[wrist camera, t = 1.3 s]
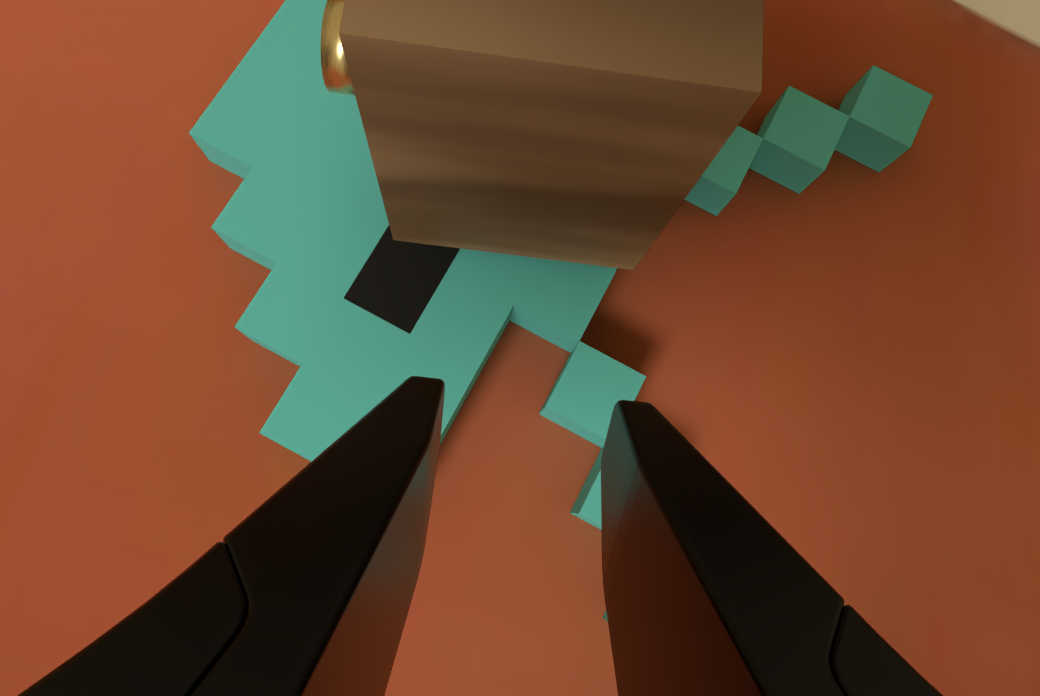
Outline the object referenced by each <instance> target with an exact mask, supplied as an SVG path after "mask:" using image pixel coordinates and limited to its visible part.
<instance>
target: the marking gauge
mask: <svg viewBox="0 0 1040 696" xmlns="http://www.w3.org/2000/svg"><path fill="white" fill-rule="evenodd" d="M763 24H764V0H327V3H326V5H325V9H324V14H323V19H322V28H321V67H322V75H323V80H324V83H325V86H326V89H327V90H328V91H329V92H332V93H340V94H347V95H354V96H355V97H356V101H357V104H358V108H359V112H360V116H361V120H362V123H363V127H364V131H365V135H366V139H367V142H368V146H369V150H370V154H371V158H372V161H373V165H374V169H375V173H376V176H377V180H378V184H379V188H380V192H381V195H382V199H383V203H384V207H385V211H386V214H387V218H388V222H389V226H390V230H391V233H392V237H393V240H397V241H405V242H413V243H421V244H429V245H437V246H445V247H453V248H461V249H469V250H477V251H485V252H493V253H501V254H509V255H517V256H525V257H533V258H541V259H549V260H557V261H565V262H573V263H581V264H589V265H597V266H605V267H613V268H621V269H629V270H634V269H635V267H636V266H637V265H638V263H639V262H640V260H641V259H642V258H643V256H644V255H645V254H646V252H647V251H648V249H649V248H650V247H651V245H652V244H653V242H654V241H655V240H656V238H657V237H658V235H659V234H660V233H661V231H662V230H663V229H664V227H665V226H666V224H667V223H668V222H669V220H670V219H671V217H672V216H673V215H674V213H675V212H676V211H677V209H678V208H679V206H680V205H681V204H682V202H683V201H684V199H685V198H686V197H687V195H688V194H689V193H690V191H691V190H692V188H693V187H694V186H695V184H696V183H697V181H698V180H699V179H700V177H701V176H702V174H703V173H704V172H705V170H706V169H707V168H708V166H709V165H710V163H711V162H712V161H713V159H714V158H715V156H716V155H717V154H718V152H719V151H720V150H721V148H722V147H723V145H724V144H725V143H726V141H727V140H728V138H729V137H730V136H731V134H732V133H733V132H734V130H735V129H736V127H737V126H738V125H739V123H740V122H741V120H742V119H743V118H744V116H745V115H746V113H747V112H748V111H749V109H750V108H751V107H752V105H753V104H754V102H755V101H756V100H757V98H758V97H759V95H760V94H761V93H762V63H763Z"/></svg>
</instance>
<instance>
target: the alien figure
mask: <svg viewBox="0 0 1040 696" xmlns="http://www.w3.org/2000/svg"><path fill="white" fill-rule="evenodd" d="M326 3H327V0H286V1H285V2H284V3H283V5H282V6H281V7H280V9H279V10H278V12H277V13H276V14H275V16H274V17H273V18H272V20H271V21H270V23H269V24H268V25H267V27H266V28H265V29H264V31H263V32H262V34H261V35H260V36H259V38H258V39H257V40H256V42H255V43H254V44H253V46H252V47H251V49H250V50H249V51H248V53H247V54H246V55H245V57H244V58H243V60H242V61H241V62H240V64H239V65H238V66H237V68H236V69H235V71H234V72H233V73H232V75H231V76H230V77H229V79H228V80H227V81H226V83H225V84H224V86H223V87H222V88H221V90H220V91H219V92H218V94H217V95H216V97H215V98H214V99H213V101H212V102H211V103H210V105H209V106H208V108H207V109H206V110H205V112H204V113H203V114H202V116H201V117H200V119H199V120H198V121H197V123H196V124H195V125H194V127H193V128H192V129H191V131H190V132H189V134H190V135H191V136H192V138H193V139H194V140H195V142H196V143H197V144H198V146H199V147H200V148H201V150H202V151H203V152H204V154H205V155H206V156H207V158H208V159H209V160H210V161H211V162H213V163H215V164H217V165H219V166H221V167H223V168H225V169H226V170H228V171H230V172H232V173H234V174H236V175H238V176H240V177H241V178H243V179H244V181H243V182H242V183H241V185H240V186H239V188H238V189H237V191H236V192H235V193H234V195H233V196H232V198H231V199H230V201H229V202H228V204H227V205H226V206H225V208H224V209H223V211H222V212H221V214H220V215H219V217H218V218H217V219H216V221H215V222H214V224H213V225H212V227H211V228H212V229H213V230H214V231H215V232H216V233H217V234H218V235H219V236H220V238H221V239H222V240H223V241H224V242H225V243H226V244H227V245H228V246H229V247H230V248H231V249H233V250H235V251H237V252H238V253H240V254H242V255H244V256H246V257H248V258H250V259H251V260H253V261H255V262H257V263H259V264H261V265H263V266H264V267H266V268H268V269H270V270H272V271H271V272H270V274H269V275H268V277H267V278H266V280H265V281H264V283H263V284H262V286H261V288H260V289H259V291H258V292H257V294H256V295H255V297H254V298H253V300H252V301H251V303H250V304H249V306H248V307H247V309H246V310H245V312H244V313H243V315H242V316H241V318H240V319H239V321H238V322H237V324H236V326H235V328H236V329H238V330H239V331H240V332H242V333H243V334H244V335H245V336H247V337H248V338H249V339H251V340H252V341H254V342H256V343H257V344H259V345H261V346H263V347H265V348H267V349H269V350H270V351H272V352H274V353H276V354H278V355H280V356H281V357H283V358H285V359H287V360H289V361H291V362H293V363H294V364H296V365H298V366H300V368H299V370H298V372H297V373H296V375H295V376H294V378H293V380H292V381H291V383H290V384H289V386H288V388H287V389H286V391H285V392H284V394H283V396H282V397H281V399H280V400H279V402H278V404H277V405H276V407H275V408H274V410H273V412H272V413H271V415H270V416H269V418H268V420H267V421H266V423H265V424H264V426H263V428H262V429H261V431H260V432H259V433H260V434H262V435H264V436H266V437H268V438H269V439H271V440H273V441H275V442H277V443H279V444H280V445H282V446H284V447H286V448H288V449H290V450H291V451H293V452H295V453H297V454H299V455H301V456H302V457H304V458H306V459H308V460H310V461H311V462H312V461H313V460H314V459H315V458H316V457H317V456H319V455H320V454H321V453H322V452H323V451H324V450H325V449H327V448H328V447H329V446H330V445H331V444H332V443H334V442H335V441H336V440H337V439H338V438H339V437H340V436H342V435H343V434H344V433H345V432H346V431H347V430H349V429H350V428H351V427H352V426H353V425H354V424H356V423H357V422H358V421H359V420H360V419H361V418H362V417H364V416H365V415H366V414H367V413H368V412H369V411H371V410H372V409H373V408H374V407H375V406H376V405H377V404H379V403H380V402H381V401H382V400H383V399H384V398H386V397H387V396H388V395H389V394H390V393H391V392H393V391H394V390H395V389H396V388H397V387H398V386H399V385H401V384H402V383H403V382H404V381H405V380H406V379H408V378H409V377H411V376H421V377H429V378H438V379H442V380H443V381H444V383H445V395H444V406H443V417H442V429H441V439H440V445H441V443H442V441H443V440H444V438H445V436H446V434H447V432H448V430H449V429H450V427H451V425H452V423H453V421H454V420H455V418H456V416H457V414H458V412H459V411H460V409H461V407H462V405H463V403H464V402H465V400H466V398H467V396H468V394H469V393H470V391H471V389H472V387H473V385H474V384H475V382H476V380H477V378H478V376H479V375H480V373H481V371H482V369H483V367H484V366H485V364H486V362H487V360H488V358H489V357H490V355H491V353H492V351H493V349H494V348H495V346H496V344H497V342H498V340H499V339H500V337H501V335H502V333H503V331H504V330H505V328H506V326H507V324H508V322H509V321H512V322H513V323H515V324H517V325H519V326H521V327H523V328H525V329H527V330H528V331H530V332H532V333H534V334H536V335H538V336H540V337H542V338H544V339H545V340H547V341H549V342H551V343H553V344H555V345H557V346H559V347H560V348H562V349H564V350H566V351H568V352H570V353H571V354H570V356H569V358H568V360H567V361H566V363H565V365H564V367H563V369H562V371H561V373H560V375H559V377H558V379H557V381H556V382H555V384H554V386H553V388H552V390H551V392H550V394H549V396H548V398H547V400H546V401H545V403H544V405H543V407H542V409H541V411H540V413H539V414H540V415H542V416H544V417H545V418H547V419H549V420H551V421H553V422H555V423H557V424H558V425H560V426H562V427H564V428H566V429H568V430H570V431H571V432H573V433H575V434H577V435H579V436H581V437H583V438H584V439H586V440H588V441H590V442H592V443H594V444H596V445H597V446H599V447H601V448H602V449H601V451H600V453H599V455H598V457H597V459H596V461H595V463H594V465H593V467H592V469H591V471H590V473H589V475H588V477H587V479H586V481H585V483H584V485H583V487H582V489H581V491H580V493H579V495H578V497H577V499H576V502H575V504H574V506H573V508H572V510H571V512H570V513H571V514H573V515H575V516H577V517H578V518H580V519H582V520H584V521H586V522H588V523H589V524H591V525H593V526H595V527H597V528H599V529H601V530H602V523H601V459H602V453H603V448H604V444H605V440H606V436H607V432H608V428H609V424H610V420H611V416H612V412H613V409H614V406H615V404H616V403H617V402H618V401H619V400H629V401H635V399H636V396H637V394H638V392H639V390H640V388H641V386H642V384H643V382H644V380H645V378H646V376H644V375H643V374H641V373H639V372H637V371H635V370H633V369H631V368H629V367H628V366H626V365H624V364H622V363H620V362H618V361H616V360H614V359H613V358H611V357H609V356H607V355H605V354H603V353H601V352H599V351H598V350H596V349H594V348H592V347H590V346H588V345H586V344H584V343H583V342H581V341H580V339H581V337H582V335H583V333H584V331H585V330H586V328H587V326H588V324H589V322H590V320H591V318H592V316H593V314H594V312H595V310H596V309H597V307H598V305H599V303H600V301H601V299H602V297H603V295H604V293H605V291H606V289H607V288H608V286H609V284H610V282H611V280H612V278H613V276H614V274H615V272H616V270H617V268H613V267H605V266H597V265H589V264H581V263H573V262H565V261H557V260H549V259H541V258H533V257H525V256H517V255H509V254H501V253H493V252H485V251H477V250H469V249H461V248H453V247H445V246H437V245H429V244H421V243H413V242H405V241H397V240H393V237H392V233H391V230H390V226H389V222H388V218H387V214H386V211H385V207H384V203H383V199H382V195H381V192H380V188H379V184H378V180H377V176H376V173H375V169H374V165H373V161H372V158H371V154H370V150H369V146H368V142H367V139H366V135H365V131H364V127H363V123H362V120H361V116H360V112H359V108H358V104H357V101H356V97H355V96H354V95H347V94H340V93H332V92H329V91H328V90H327V89H326V86H325V83H324V80H323V75H322V67H321V28H322V19H323V14H324V9H325V5H326ZM932 97H933V95H931V94H930V93H928V92H926V91H924V90H922V89H920V88H918V87H916V86H914V85H912V84H910V83H908V82H906V81H904V80H902V79H900V78H898V77H896V76H894V75H892V74H890V73H888V72H886V71H884V70H882V69H880V68H878V67H876V66H875V65H873V66H872V67H871V68H870V69H869V70H868V71H867V72H866V74H865V75H864V76H863V77H862V78H861V79H860V80H859V81H858V82H857V83H856V84H855V85H854V86H853V87H852V89H851V90H850V91H849V92H848V93H847V94H846V95H845V97H844V99H843V101H842V103H841V105H840V108H839V110H836V109H834V108H832V107H830V106H828V105H826V104H824V103H822V102H820V101H818V100H817V99H815V98H813V97H811V96H809V95H807V94H805V93H803V92H801V91H799V90H797V89H795V88H793V87H791V86H789V87H788V88H787V89H786V91H785V92H784V93H783V94H782V96H781V97H780V98H779V100H778V101H777V102H776V103H775V105H774V106H773V107H772V109H771V110H770V111H769V112H768V114H767V115H766V117H765V119H764V121H763V123H762V125H761V127H760V129H759V131H758V133H757V135H755V134H753V133H752V132H750V131H748V130H746V129H744V128H742V127H740V126H737V127H736V129H735V130H734V132H733V133H732V134H731V136H730V137H729V138H728V140H727V141H726V143H725V144H724V145H723V147H722V148H721V150H720V151H719V152H718V154H717V155H716V156H715V158H714V159H713V161H712V162H711V163H710V165H709V166H708V168H707V169H706V170H705V172H704V173H703V174H702V176H701V177H700V179H699V180H698V181H697V183H696V184H695V186H694V187H693V188H692V190H691V191H690V193H689V194H688V195H687V197H686V198H685V199H684V200H686V201H688V202H690V203H692V204H694V205H696V206H698V207H700V208H702V209H704V210H705V211H707V212H709V213H711V214H713V215H715V216H717V215H718V214H719V213H720V212H721V211H722V209H723V208H724V207H725V206H726V205H727V204H728V203H729V201H730V200H731V199H732V198H733V197H734V196H735V195H736V193H737V191H738V189H739V187H740V185H741V183H742V181H743V179H744V177H745V175H746V173H747V171H748V169H749V168H750V169H752V170H754V171H756V172H758V173H760V174H762V175H763V176H765V177H767V178H769V179H771V180H773V181H775V182H777V183H779V184H781V185H783V186H785V187H787V188H789V189H791V190H792V191H794V192H796V193H798V194H800V193H801V192H802V191H803V190H804V189H805V188H806V187H807V186H809V185H810V184H811V183H812V182H813V181H814V180H815V179H816V178H817V177H818V176H819V175H821V174H822V173H823V172H824V171H825V169H826V167H827V165H828V163H829V161H830V158H831V156H832V154H833V152H834V150H836V151H838V152H840V153H842V154H844V155H846V156H848V157H850V158H852V159H854V160H856V161H858V162H860V163H861V164H863V165H865V166H867V167H869V168H871V169H873V170H875V171H877V172H881V171H882V170H883V169H884V168H886V167H887V166H888V165H889V164H891V163H892V162H893V161H894V160H896V159H897V158H898V157H899V156H901V155H902V154H903V153H905V152H906V151H907V150H908V149H910V148H911V145H912V143H913V141H914V138H915V136H916V134H917V132H918V129H919V127H920V125H921V122H922V120H923V118H924V115H925V113H926V111H927V108H928V106H929V104H930V101H931V99H932ZM603 618H604V619H605V620H606V621H608V618H607V611H605V613H604V616H603Z"/></svg>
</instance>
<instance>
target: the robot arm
mask: <svg viewBox="0 0 1040 696" xmlns="http://www.w3.org/2000/svg"><path fill="white" fill-rule="evenodd" d="M444 395H445V383H444V381H443V380H442V379H438V378H429V377H421V376H411V377H409V378H408V379H406V380H405V381H404V382H403V383H402V384H401V385H399V386H398V387H397V388H396V389H395V390H394V391H393V392H391V393H390V394H389V395H388V396H387V397H386V398H384V399H383V400H382V401H381V402H380V403H379V404H377V405H376V406H375V407H374V408H373V409H372V410H371V411H369V412H368V413H367V414H366V415H365V416H364V417H362V418H361V419H360V420H359V421H358V422H357V423H356V424H354V425H353V426H352V427H351V428H350V429H349V430H347V431H346V432H345V433H344V434H343V435H342V436H340V437H339V438H338V439H337V440H336V441H335V442H334V443H332V444H331V445H330V446H329V447H328V448H327V449H325V450H324V451H323V452H322V453H321V454H320V455H319V456H317V457H316V458H315V459H314V460H313V461H312V462H310V463H309V464H308V465H307V466H306V467H305V468H303V469H302V470H301V471H300V472H299V473H298V474H297V475H295V476H294V477H293V478H292V479H291V480H290V481H288V482H287V483H286V484H285V485H284V486H283V487H282V488H280V489H279V490H278V491H277V492H276V493H275V494H273V495H272V496H271V497H270V498H269V499H268V500H266V501H265V502H264V503H263V504H262V505H261V506H260V507H258V508H257V509H256V510H255V511H254V512H253V513H251V514H250V515H249V516H248V517H247V518H246V519H245V520H243V521H242V522H241V523H240V524H239V525H238V526H236V527H235V528H234V529H233V530H232V531H231V532H229V533H228V534H227V535H226V536H225V537H224V539H223V542H218V543H216V544H215V545H214V546H213V547H212V548H210V549H209V550H208V551H207V552H206V553H205V554H204V555H202V556H201V557H200V558H199V559H198V560H197V561H195V562H194V563H193V564H192V565H191V566H190V567H188V568H187V569H186V570H185V571H184V572H182V573H181V574H180V575H179V576H177V577H176V578H175V579H174V580H173V581H171V582H170V583H169V584H168V585H166V586H165V587H164V588H163V589H162V590H160V591H159V592H158V593H157V594H155V595H154V596H153V597H152V598H151V599H149V600H148V601H147V602H146V603H144V604H143V605H142V606H140V607H139V608H138V609H136V610H135V611H134V612H132V613H131V614H130V615H128V616H127V617H126V618H124V619H123V620H122V621H120V622H119V623H118V624H116V625H115V626H114V627H112V628H111V629H109V630H108V631H107V632H105V633H104V634H103V635H101V636H100V637H99V638H97V639H96V640H95V641H93V642H92V643H91V644H89V645H88V646H87V647H85V648H84V649H82V650H81V651H80V652H78V653H77V654H75V655H74V656H73V657H71V658H70V659H68V660H67V661H66V662H64V663H63V664H61V665H60V666H59V667H57V668H56V669H54V670H53V671H51V672H50V673H49V674H47V675H46V676H44V677H43V678H42V679H40V680H39V681H37V682H36V683H35V684H33V685H32V686H30V687H29V688H28V689H26V690H25V691H23V692H22V693H21V694H19V695H18V696H384V695H385V691H386V688H387V684H388V681H389V677H390V674H391V670H392V667H393V663H394V660H395V656H396V653H397V649H398V646H399V642H400V639H401V635H402V632H403V628H404V625H405V621H406V618H407V614H408V611H409V607H410V604H411V600H412V597H413V593H414V590H415V586H416V583H417V579H418V575H419V571H420V567H421V563H422V558H423V553H424V547H425V542H426V535H427V528H428V522H429V515H430V508H431V501H432V495H433V488H434V481H435V475H436V468H437V461H438V455H439V447H440V439H441V429H442V417H443V406H444ZM601 523H602V572H603V587H604V596H605V604H606V611H607V618H608V625H609V633H610V640H611V647H612V654H613V661H614V668H615V675H616V683H617V690H618V696H943V695H942V694H941V693H940V692H939V691H937V690H936V689H935V688H934V687H933V686H932V685H931V684H930V683H929V682H928V681H926V680H925V679H924V678H923V677H922V676H921V675H920V674H919V673H918V672H917V671H916V670H915V669H914V668H913V667H912V666H911V665H910V664H909V663H908V662H907V661H906V660H905V659H904V658H903V657H902V656H901V655H900V654H899V653H898V652H897V651H896V650H895V649H893V648H892V647H891V646H890V645H889V644H888V643H887V642H886V641H885V640H884V639H883V638H882V637H881V636H880V635H879V634H878V633H877V632H876V631H875V630H874V629H873V628H872V627H871V626H870V625H869V624H868V623H867V622H866V621H865V620H864V619H863V618H862V617H861V616H860V615H859V614H858V613H857V612H856V611H855V610H854V609H853V608H852V607H851V606H850V605H845V606H844V599H843V598H842V597H841V596H840V595H839V594H838V593H837V592H836V591H835V590H834V589H833V588H832V587H831V586H830V585H829V583H828V582H827V581H826V580H825V579H824V578H823V577H822V576H821V575H820V574H819V573H818V572H817V571H816V570H815V569H814V568H813V567H812V566H811V565H810V564H809V563H808V562H807V561H806V560H805V559H804V558H803V557H802V556H801V555H800V554H799V553H798V552H797V551H796V550H795V549H794V548H793V547H792V546H791V545H790V544H789V543H788V542H787V541H786V540H785V539H784V538H783V537H782V536H781V535H780V534H779V533H778V532H777V531H776V530H775V529H774V528H773V527H772V526H771V525H770V524H769V523H768V522H767V521H766V520H765V519H764V517H763V516H762V515H761V514H760V513H759V512H758V511H757V510H756V509H755V508H754V507H753V506H752V505H751V504H750V503H749V502H748V501H747V500H746V499H745V498H744V497H743V496H742V495H741V494H740V493H739V492H738V491H737V490H736V489H735V488H734V487H733V486H732V485H731V484H730V483H729V482H728V481H727V480H726V479H725V478H724V477H723V476H722V475H721V474H720V473H719V472H718V471H717V470H716V469H715V468H714V467H713V466H712V465H711V464H710V463H709V462H708V461H707V460H706V459H705V458H704V457H703V456H702V455H701V454H700V453H699V451H698V450H697V449H696V448H695V447H694V446H693V445H692V444H691V443H690V442H689V441H688V440H687V439H686V438H685V437H684V436H683V435H682V434H681V433H680V432H679V431H678V430H677V429H676V428H675V427H674V426H673V425H672V424H671V423H670V422H669V421H668V420H667V419H666V418H665V417H664V416H663V415H662V414H661V413H660V412H659V411H658V410H657V409H656V408H655V407H654V406H653V405H652V404H650V403H647V402H638V401H629V400H619V401H618V402H617V403H616V404H615V406H614V409H613V412H612V416H611V420H610V424H609V428H608V432H607V436H606V440H605V444H604V448H603V453H602V459H601Z"/></svg>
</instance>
